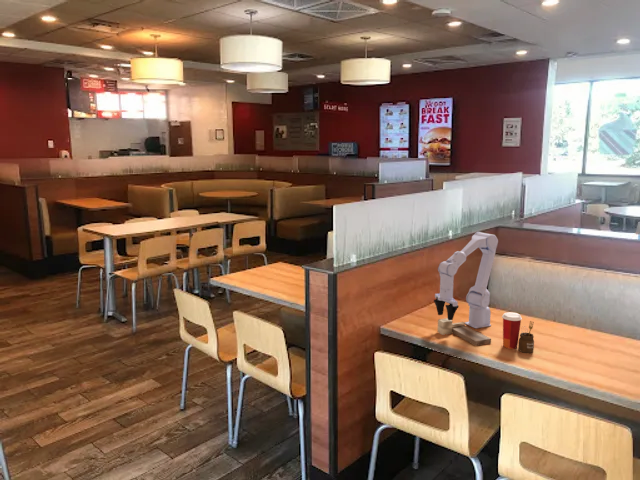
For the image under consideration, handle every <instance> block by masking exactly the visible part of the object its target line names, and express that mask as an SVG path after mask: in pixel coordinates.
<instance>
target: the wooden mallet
mask: <svg viewBox="0 0 640 480" xmlns="http://www.w3.org/2000/svg"><path fill="white" fill-rule="evenodd" d="M462 325H465V326H466V324H465V322H464V321H461V322H453V320H448V317H447V318H439V319H437V333H438V334H440V335H442V336H445V334H446V335H451V334H453V333H452V327H455V326H462Z"/></svg>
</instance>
